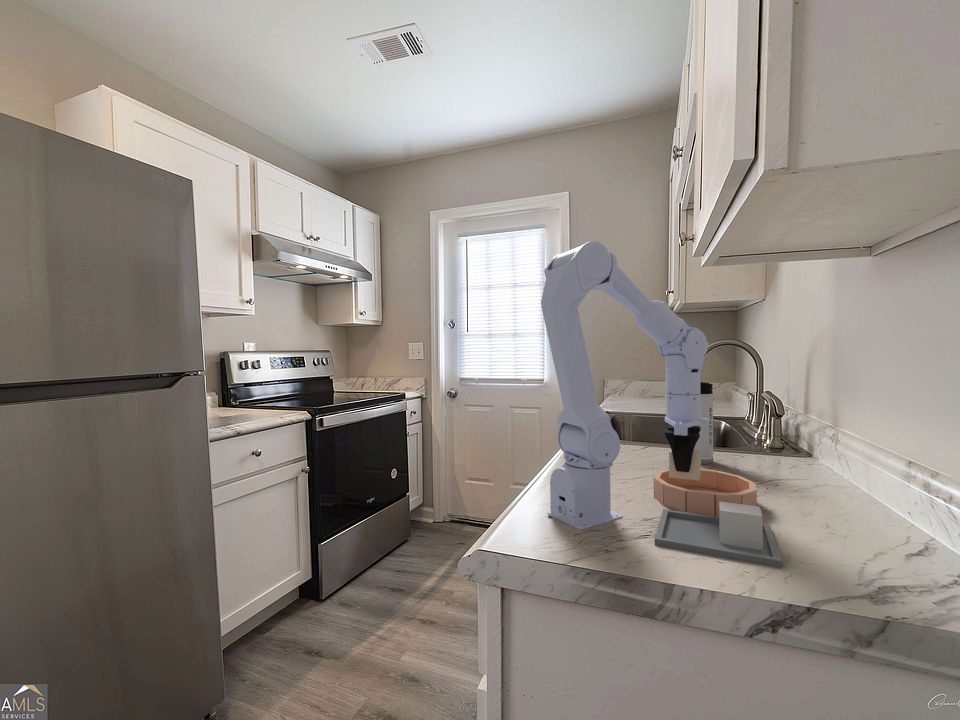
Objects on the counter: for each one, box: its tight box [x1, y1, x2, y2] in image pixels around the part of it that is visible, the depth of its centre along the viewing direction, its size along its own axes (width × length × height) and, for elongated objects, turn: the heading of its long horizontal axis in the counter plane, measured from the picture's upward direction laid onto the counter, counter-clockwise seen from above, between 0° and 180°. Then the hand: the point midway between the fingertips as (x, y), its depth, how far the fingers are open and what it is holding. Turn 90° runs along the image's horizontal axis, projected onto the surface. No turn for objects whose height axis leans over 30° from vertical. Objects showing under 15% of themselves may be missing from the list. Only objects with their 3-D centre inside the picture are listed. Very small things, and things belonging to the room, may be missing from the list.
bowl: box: [653, 468, 758, 517], centre depth 77 cm, size 16×16×4 cm
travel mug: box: [694, 381, 714, 465], centre depth 106 cm, size 6×7×20 cm
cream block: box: [668, 447, 702, 481], centre depth 79 cm, size 5×4×5 cm
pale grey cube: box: [719, 501, 764, 550], centre depth 61 cm, size 5×4×5 cm
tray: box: [654, 508, 783, 569], centre depth 62 cm, size 13×15×1 cm
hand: (683, 468), depth 79 cm, fingers closed on cream block, 4 cm apart
